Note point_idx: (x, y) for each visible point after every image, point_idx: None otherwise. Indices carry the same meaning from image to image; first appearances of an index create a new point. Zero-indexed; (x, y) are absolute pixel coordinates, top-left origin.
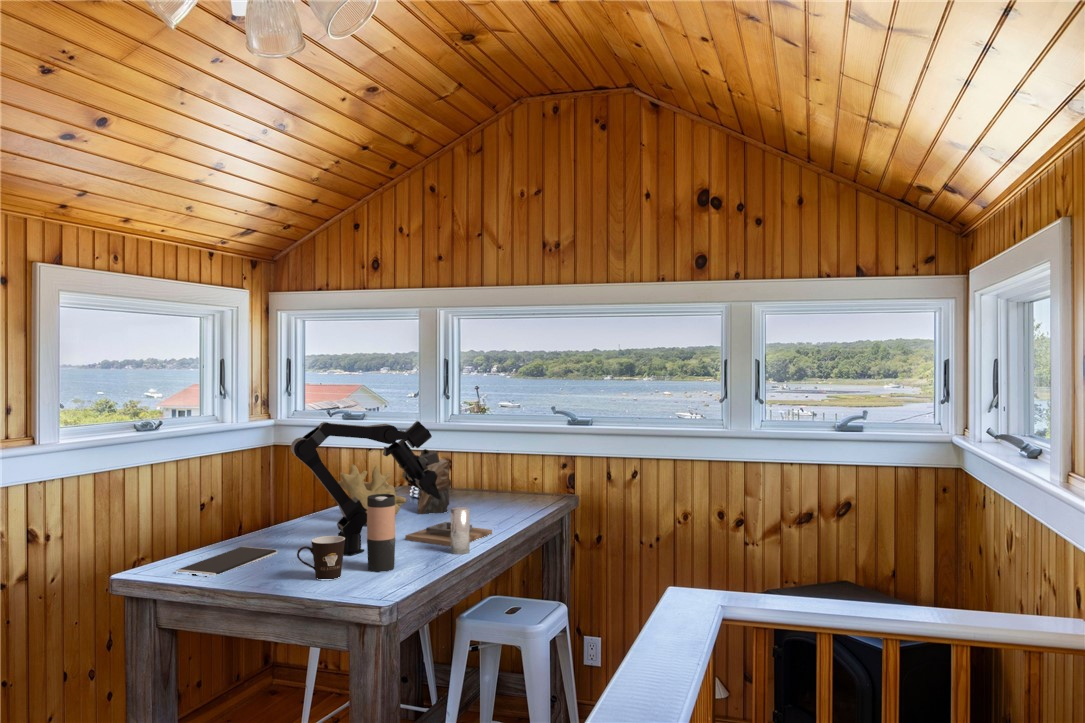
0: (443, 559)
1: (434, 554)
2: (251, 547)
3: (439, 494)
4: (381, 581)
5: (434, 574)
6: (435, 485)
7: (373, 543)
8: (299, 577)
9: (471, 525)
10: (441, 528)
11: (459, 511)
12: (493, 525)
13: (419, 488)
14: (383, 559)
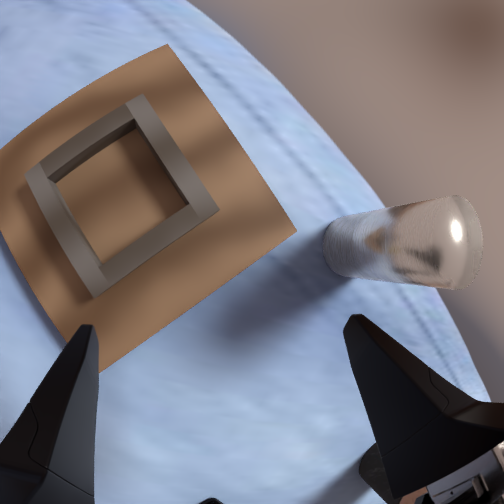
0: (392, 317)
1: (338, 329)
2: None
3: (384, 333)
4: None
5: (459, 357)
6: (458, 395)
7: None
8: None
9: (145, 97)
10: (70, 213)
11: (478, 260)
12: (59, 19)
13: (93, 456)
14: None
